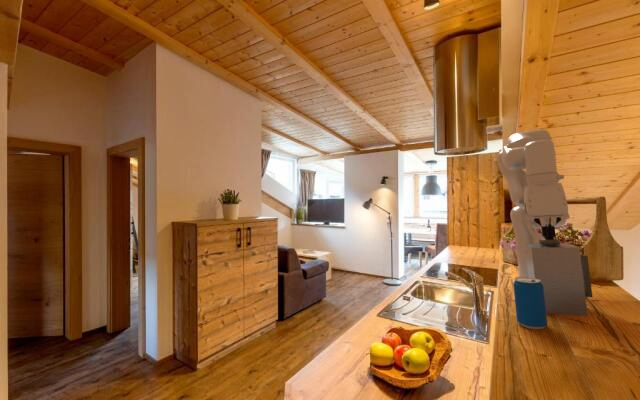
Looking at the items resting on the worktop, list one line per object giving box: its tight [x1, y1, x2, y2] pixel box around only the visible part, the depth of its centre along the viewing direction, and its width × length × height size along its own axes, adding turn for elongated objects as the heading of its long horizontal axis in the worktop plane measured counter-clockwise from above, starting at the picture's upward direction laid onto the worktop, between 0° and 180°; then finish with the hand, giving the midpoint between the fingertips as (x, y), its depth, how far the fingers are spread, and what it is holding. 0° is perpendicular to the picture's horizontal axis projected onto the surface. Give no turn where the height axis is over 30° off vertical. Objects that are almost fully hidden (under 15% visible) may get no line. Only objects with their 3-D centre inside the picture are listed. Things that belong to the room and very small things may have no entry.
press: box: [525, 242, 593, 317], centre depth 85 cm, size 11×14×19 cm
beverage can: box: [512, 276, 548, 330], centre depth 74 cm, size 6×6×12 cm
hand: (549, 239), depth 86 cm, fingers closed
